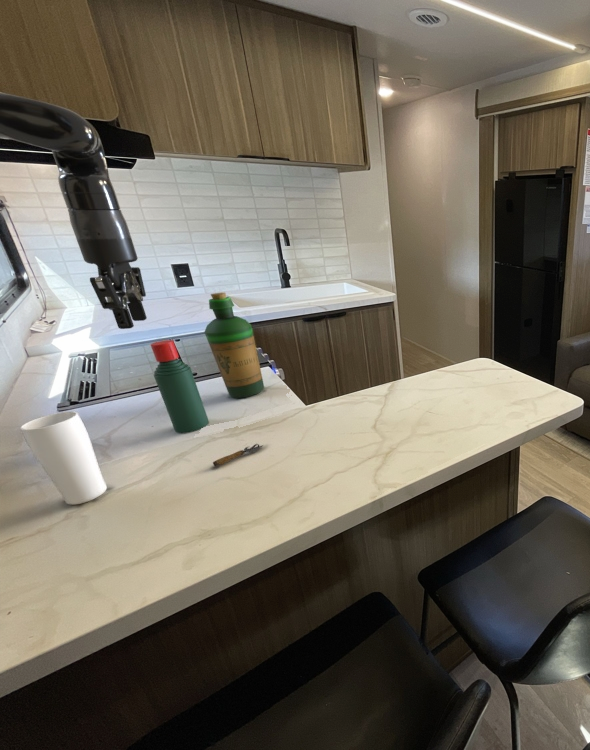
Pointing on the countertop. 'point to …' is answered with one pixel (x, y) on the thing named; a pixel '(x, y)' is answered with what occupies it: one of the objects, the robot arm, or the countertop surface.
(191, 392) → the bottle
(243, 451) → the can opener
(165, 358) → the cap
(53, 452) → the white cup
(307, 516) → the countertop surface
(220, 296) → the bottle
